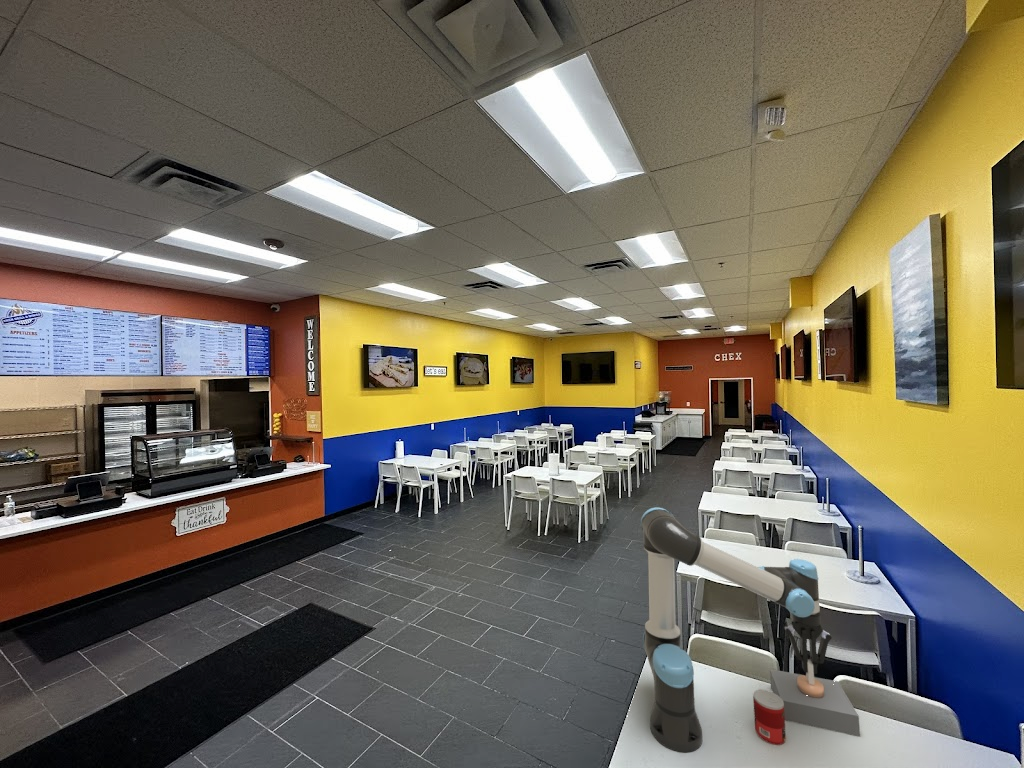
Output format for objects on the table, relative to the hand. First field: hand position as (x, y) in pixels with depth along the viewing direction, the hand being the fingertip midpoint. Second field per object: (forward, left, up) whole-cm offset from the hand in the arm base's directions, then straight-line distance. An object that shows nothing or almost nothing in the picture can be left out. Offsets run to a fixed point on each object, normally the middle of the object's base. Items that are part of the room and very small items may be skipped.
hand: (810, 681), depth 134 cm
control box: (0, 0, -9) cm, 9 cm away
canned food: (-15, -16, -9) cm, 24 cm away
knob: (0, 0, -8) cm, 8 cm away
